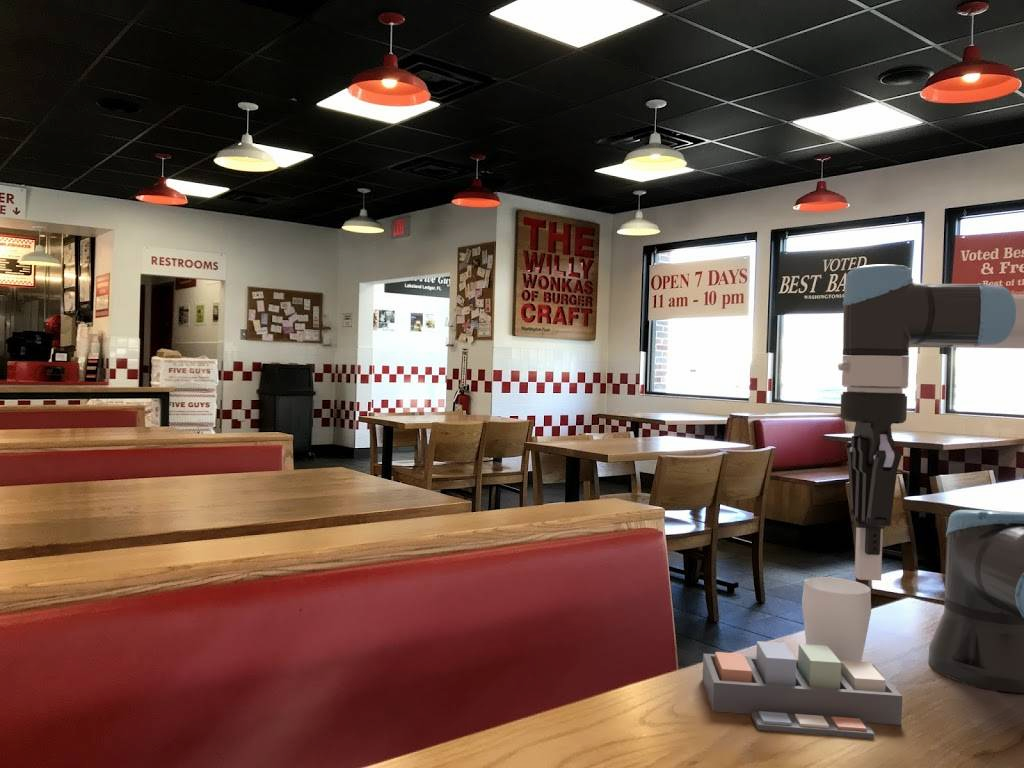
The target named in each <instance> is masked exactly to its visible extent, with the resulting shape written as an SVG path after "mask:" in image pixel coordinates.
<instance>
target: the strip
mask: <svg viewBox="0 0 1024 768" xmlns="http://www.w3.org/2000/svg"><path fill="white" fill-rule="evenodd" d="M751 717H752V720H753V723H754V724H755V727H756V729H757V731H770V732H780V733H781V732H782V733H795V734H806V735H808V734H809V735H810V734H811V735H822V736H835V737H847V738H861V739H871V740H872V739H874V740H875V732H874V731H873V729H872V728H871V727H870V725H868V724H869V723H867V722H865V720H861V719H858V718H845V717H823V716H818V715H804V714H795V715H794V714H787V713H777V712H764V711H759V712H754V711H752V714H751Z"/></svg>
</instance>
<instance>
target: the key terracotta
mask: <svg viewBox="0 0 1024 768" xmlns="http://www.w3.org/2000/svg"><path fill="white" fill-rule="evenodd" d="M714 654H715V670H716V672H717V675H718V677H719V680H720V681H733V682H747V683H751V682H752V670H751V668H750V666H749V664H748V662H747V660H746V658H745V655H744V653H739V652H724V651H723V652H722V651H715V653H714Z"/></svg>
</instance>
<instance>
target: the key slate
mask: <svg viewBox="0 0 1024 768" xmlns="http://www.w3.org/2000/svg"><path fill="white" fill-rule="evenodd" d="M755 657H756V668H757V670H758V672H759V674H760V676H761V678H762V680H763V682H764V684H776V685H790V686H796V662H797V660H798V659H797V658H796V657H795V655H794V654H793V652H792V650H790V647H789V646H788V645H787V643H786V642H777V641H773V642H772V641H760V640H759V641H758V640H757V641H756V656H755Z"/></svg>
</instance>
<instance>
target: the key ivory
mask: <svg viewBox="0 0 1024 768" xmlns="http://www.w3.org/2000/svg"><path fill="white" fill-rule="evenodd" d="M840 662H841V674H842V675H843V677H844V678H845V679H846V680H847V682H848V683H849V684H850V686H851V687H852V688H853V689H854V690H861V691H875V692H885V688H886V680H885V679H884V678H883V677H882V676H881V675H880V673H879V672H878V671H877V670H876V669H875V668H874V667H873V666H872V665H873V664H871V662H870V661H869V662H868V661H861V662H858V661H843V660H840Z"/></svg>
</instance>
